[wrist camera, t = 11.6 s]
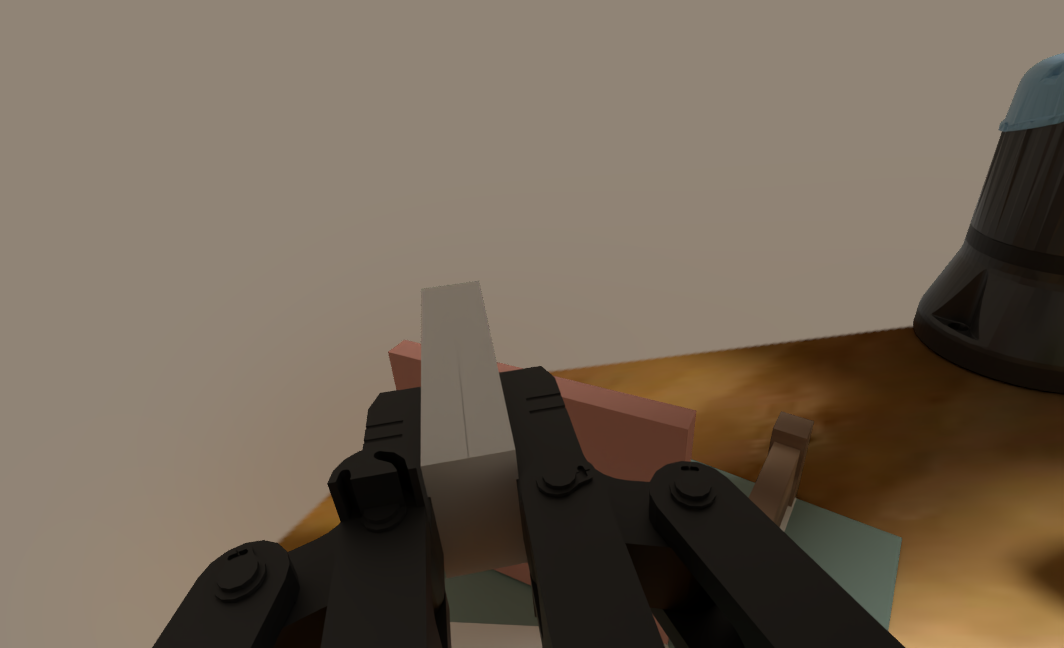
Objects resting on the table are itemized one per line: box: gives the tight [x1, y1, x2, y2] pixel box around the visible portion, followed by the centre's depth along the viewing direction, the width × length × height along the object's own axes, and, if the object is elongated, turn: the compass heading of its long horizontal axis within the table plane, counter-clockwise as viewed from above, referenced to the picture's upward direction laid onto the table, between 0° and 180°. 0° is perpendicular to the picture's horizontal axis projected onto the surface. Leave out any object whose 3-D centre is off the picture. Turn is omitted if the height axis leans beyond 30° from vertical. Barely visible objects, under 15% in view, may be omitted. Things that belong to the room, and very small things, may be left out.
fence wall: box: [749, 411, 814, 528], centre depth 29 cm, size 14×2×6 cm, turn 145°
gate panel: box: [388, 340, 696, 645], centre depth 26 cm, size 14×1×13 cm, turn 62°
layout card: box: [444, 459, 902, 648], centre depth 27 cm, size 29×24×1 cm
